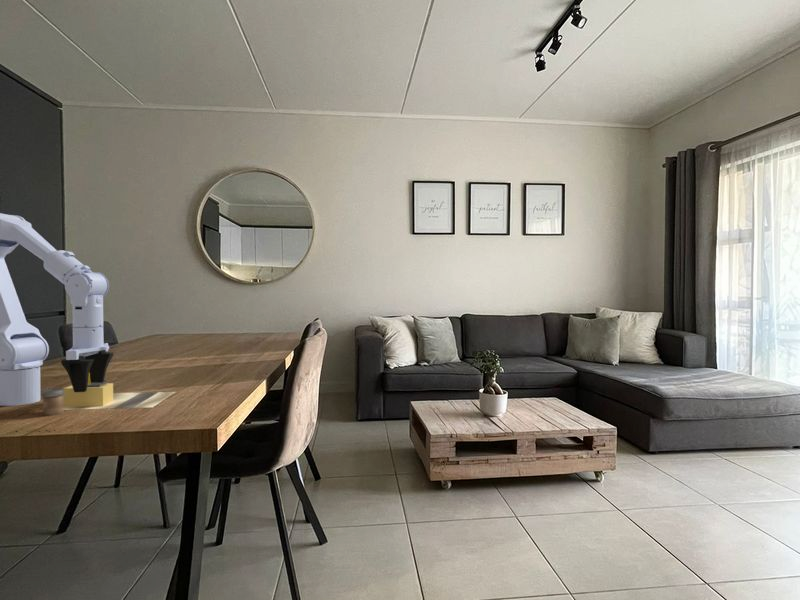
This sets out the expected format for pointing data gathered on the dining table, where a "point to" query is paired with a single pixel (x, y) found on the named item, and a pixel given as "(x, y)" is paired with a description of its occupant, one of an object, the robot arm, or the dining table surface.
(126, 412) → the dining table surface
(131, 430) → the dining table surface
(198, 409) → the dining table surface
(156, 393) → the panel
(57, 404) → the brown cylindrical piece
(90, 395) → the stud finder
